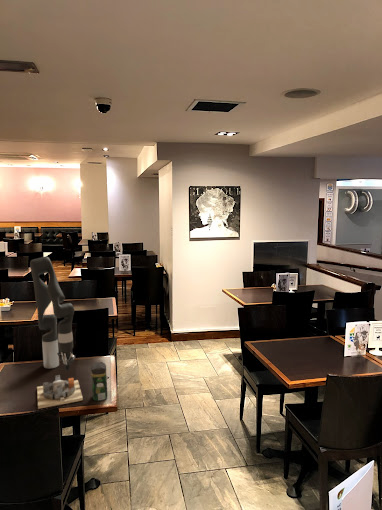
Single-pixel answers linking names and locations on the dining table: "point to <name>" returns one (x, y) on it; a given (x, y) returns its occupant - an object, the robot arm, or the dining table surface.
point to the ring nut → (58, 389)
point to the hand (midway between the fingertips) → (67, 370)
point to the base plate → (73, 397)
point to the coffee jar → (99, 381)
